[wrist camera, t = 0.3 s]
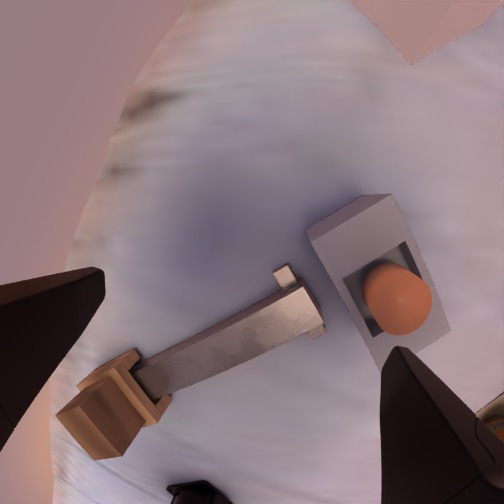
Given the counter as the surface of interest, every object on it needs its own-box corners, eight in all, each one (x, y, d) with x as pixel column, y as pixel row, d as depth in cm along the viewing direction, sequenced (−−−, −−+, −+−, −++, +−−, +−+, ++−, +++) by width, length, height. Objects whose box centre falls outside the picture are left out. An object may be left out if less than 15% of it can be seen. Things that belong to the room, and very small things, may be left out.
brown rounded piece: (375, 323, 17) (388, 346, 14) (352, 279, 16) (363, 296, 13) (418, 296, 16) (439, 314, 13) (398, 251, 16) (418, 262, 13)
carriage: (130, 414, 27) (91, 465, 19) (96, 368, 27) (46, 412, 19) (171, 399, 26) (134, 458, 18) (134, 348, 26) (82, 398, 18)
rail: (132, 411, 28) (122, 425, 26) (98, 366, 28) (85, 377, 25) (330, 325, 24) (333, 339, 21) (292, 260, 23) (292, 267, 21)
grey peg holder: (360, 328, 23) (380, 373, 16) (305, 229, 23) (310, 242, 16) (413, 296, 22) (450, 330, 15) (363, 195, 22) (391, 193, 15)
